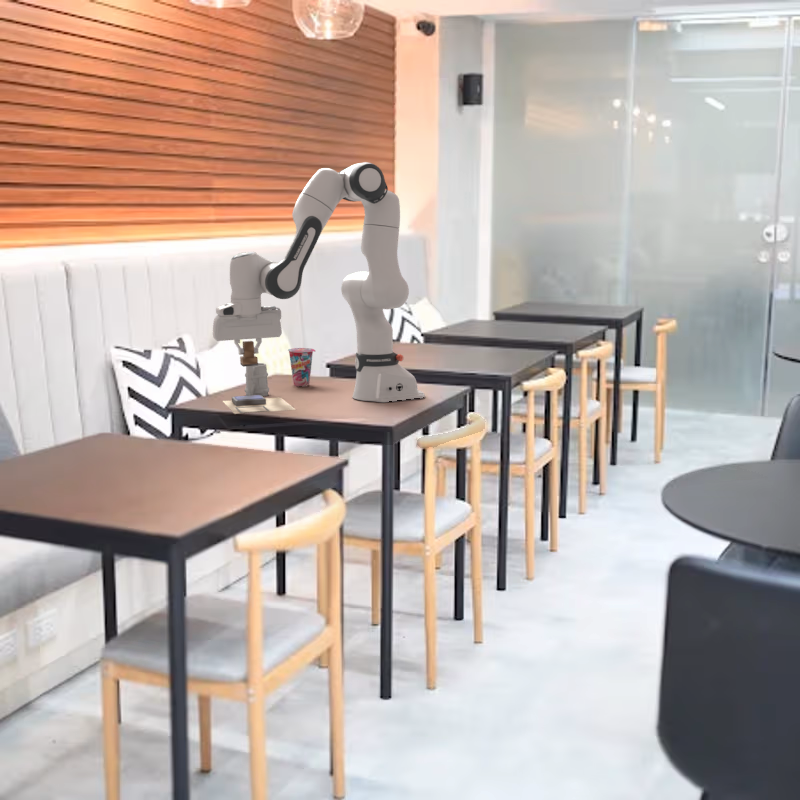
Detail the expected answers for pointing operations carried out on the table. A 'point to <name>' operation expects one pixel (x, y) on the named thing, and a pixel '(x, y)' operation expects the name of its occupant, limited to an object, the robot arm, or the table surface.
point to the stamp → (248, 355)
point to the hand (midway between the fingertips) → (248, 353)
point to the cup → (301, 365)
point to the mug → (256, 380)
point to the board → (257, 404)
